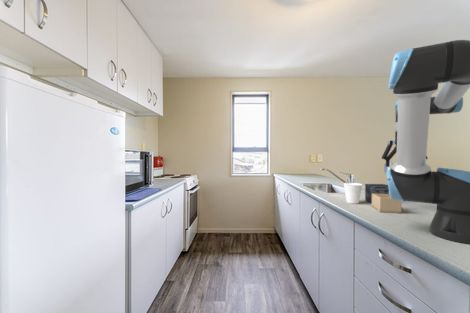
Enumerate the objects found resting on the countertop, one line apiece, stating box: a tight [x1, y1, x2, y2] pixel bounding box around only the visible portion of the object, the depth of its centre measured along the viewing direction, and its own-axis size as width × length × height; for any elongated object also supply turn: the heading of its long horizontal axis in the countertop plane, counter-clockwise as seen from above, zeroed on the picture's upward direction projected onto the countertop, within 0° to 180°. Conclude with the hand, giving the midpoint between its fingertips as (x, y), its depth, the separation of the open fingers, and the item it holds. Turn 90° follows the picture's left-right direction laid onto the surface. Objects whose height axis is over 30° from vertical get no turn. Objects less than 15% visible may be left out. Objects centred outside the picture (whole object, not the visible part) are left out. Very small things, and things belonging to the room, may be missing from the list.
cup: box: [342, 182, 363, 205], centre depth 130 cm, size 10×10×11 cm
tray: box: [371, 194, 403, 214], centre depth 115 cm, size 12×9×7 cm
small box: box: [364, 183, 389, 204], centre depth 133 cm, size 11×6×10 cm, turn 84°
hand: (403, 173), depth 114 cm, fingers closed on lid, 12 cm apart
